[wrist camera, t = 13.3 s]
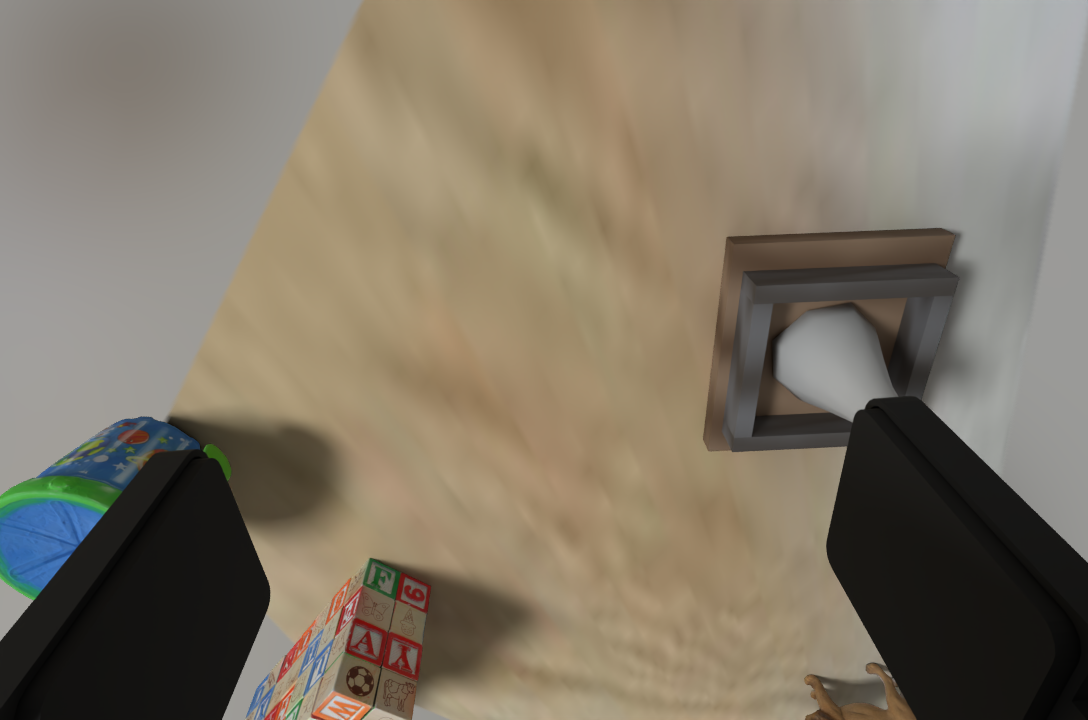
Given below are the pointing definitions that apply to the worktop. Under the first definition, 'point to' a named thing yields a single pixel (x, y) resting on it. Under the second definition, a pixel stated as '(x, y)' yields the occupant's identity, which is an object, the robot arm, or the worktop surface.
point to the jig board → (807, 284)
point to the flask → (832, 360)
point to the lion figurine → (860, 715)
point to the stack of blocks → (353, 654)
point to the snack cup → (78, 497)
